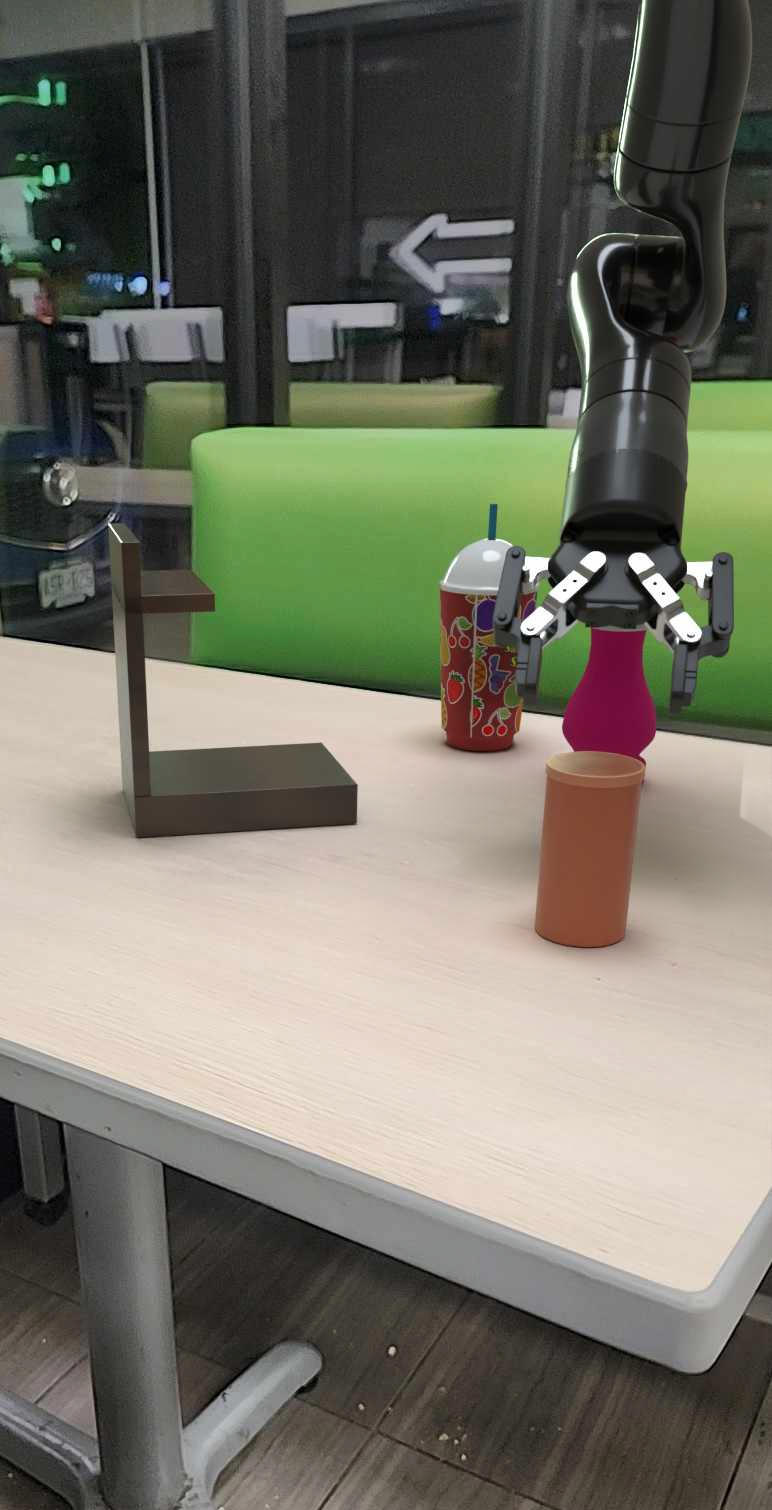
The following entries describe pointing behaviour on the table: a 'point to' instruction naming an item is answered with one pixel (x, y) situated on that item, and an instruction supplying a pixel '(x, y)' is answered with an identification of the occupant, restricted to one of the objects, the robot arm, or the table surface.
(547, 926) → the tumbler
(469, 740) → the smoothie
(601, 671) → the pepper mill
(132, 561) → the stand
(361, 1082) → the table surface
